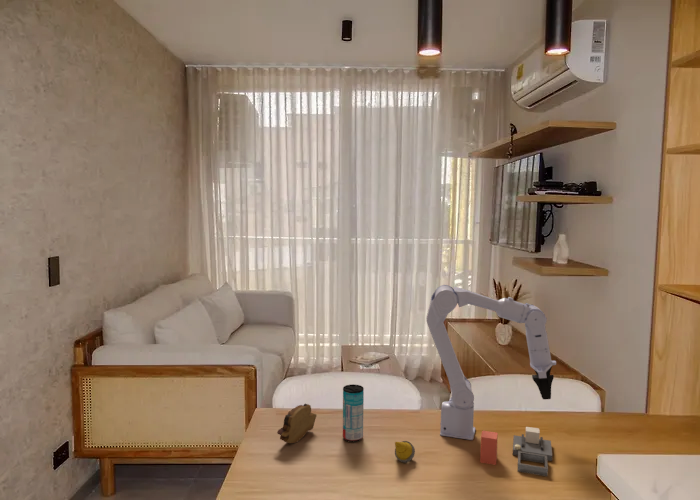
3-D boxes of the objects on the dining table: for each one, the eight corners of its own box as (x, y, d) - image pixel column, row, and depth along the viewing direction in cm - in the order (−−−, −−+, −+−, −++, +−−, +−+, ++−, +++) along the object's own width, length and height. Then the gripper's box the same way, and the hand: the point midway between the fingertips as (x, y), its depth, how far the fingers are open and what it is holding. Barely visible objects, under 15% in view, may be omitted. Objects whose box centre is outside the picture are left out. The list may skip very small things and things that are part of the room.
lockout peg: (480, 462, 136) (481, 436, 135) (481, 455, 140) (482, 430, 139) (495, 464, 135) (496, 439, 134) (496, 457, 139) (497, 432, 138)
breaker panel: (512, 454, 140) (512, 446, 140) (513, 440, 149) (513, 432, 148) (552, 461, 137) (552, 452, 137) (550, 445, 145) (550, 438, 145)
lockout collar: (517, 471, 132) (517, 464, 131) (517, 458, 138) (518, 451, 138) (547, 476, 129) (547, 469, 129) (546, 462, 136) (546, 455, 136)
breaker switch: (525, 442, 144) (525, 431, 144) (525, 437, 147) (525, 426, 147) (539, 444, 143) (539, 433, 143) (538, 439, 146) (539, 428, 146)
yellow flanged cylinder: (420, 462, 137) (406, 448, 130) (402, 468, 138) (387, 455, 131) (416, 443, 140) (402, 429, 134) (398, 449, 142) (384, 435, 135)
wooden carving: (304, 426, 157) (304, 394, 156) (317, 429, 155) (317, 397, 154) (274, 450, 142) (273, 415, 141) (288, 453, 140) (288, 418, 139)
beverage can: (357, 432, 153) (357, 383, 152) (366, 440, 148) (367, 390, 146) (339, 435, 151) (339, 386, 149) (348, 444, 145) (348, 393, 144)
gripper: (554, 354, 139) (562, 403, 140) (552, 339, 153) (559, 383, 154) (527, 357, 142) (535, 404, 143) (527, 341, 155) (534, 384, 156)
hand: (546, 393), depth 148 cm, fingers open, 7 cm apart
